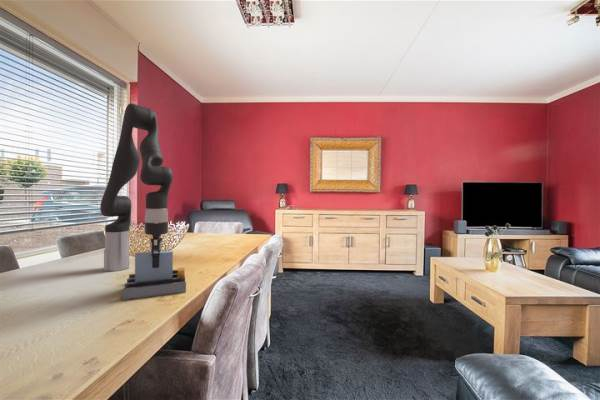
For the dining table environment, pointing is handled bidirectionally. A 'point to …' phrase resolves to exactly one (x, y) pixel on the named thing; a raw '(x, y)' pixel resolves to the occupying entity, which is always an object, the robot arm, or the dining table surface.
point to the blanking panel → (148, 273)
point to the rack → (154, 286)
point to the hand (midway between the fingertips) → (156, 264)
